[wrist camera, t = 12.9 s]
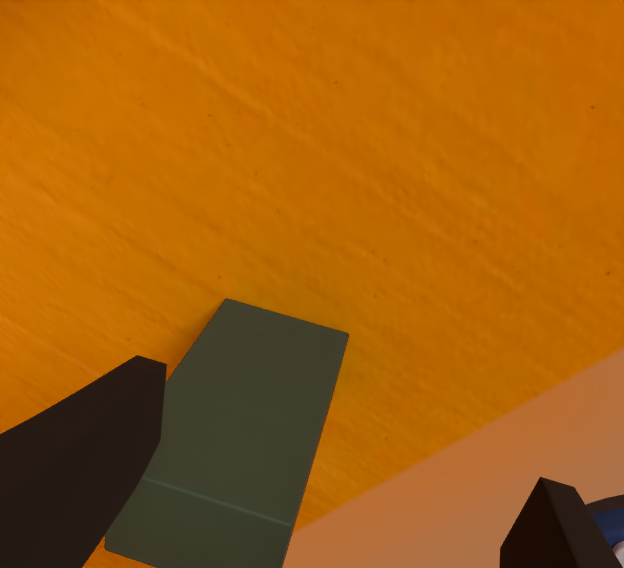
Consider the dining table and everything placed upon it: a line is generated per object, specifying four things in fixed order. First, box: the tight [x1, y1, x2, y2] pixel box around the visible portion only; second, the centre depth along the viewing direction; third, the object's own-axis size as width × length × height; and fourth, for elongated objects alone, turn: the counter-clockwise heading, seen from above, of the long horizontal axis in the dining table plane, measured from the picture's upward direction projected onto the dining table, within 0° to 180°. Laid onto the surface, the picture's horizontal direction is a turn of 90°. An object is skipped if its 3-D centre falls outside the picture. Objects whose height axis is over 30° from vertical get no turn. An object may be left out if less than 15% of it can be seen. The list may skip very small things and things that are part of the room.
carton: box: [105, 299, 349, 568], centre depth 19 cm, size 9×5×4 cm
